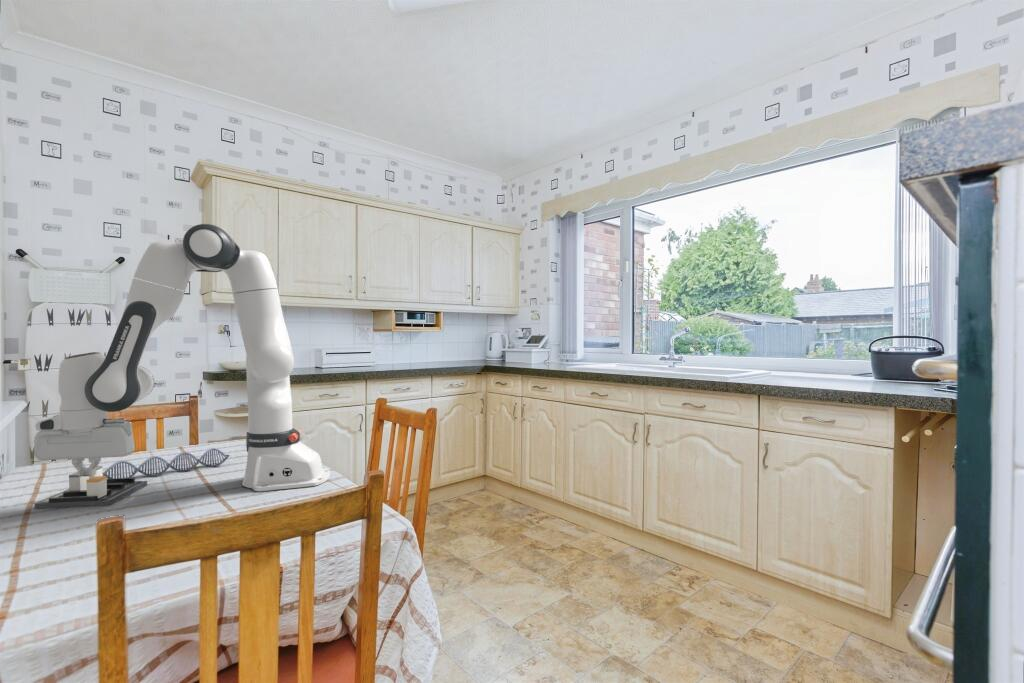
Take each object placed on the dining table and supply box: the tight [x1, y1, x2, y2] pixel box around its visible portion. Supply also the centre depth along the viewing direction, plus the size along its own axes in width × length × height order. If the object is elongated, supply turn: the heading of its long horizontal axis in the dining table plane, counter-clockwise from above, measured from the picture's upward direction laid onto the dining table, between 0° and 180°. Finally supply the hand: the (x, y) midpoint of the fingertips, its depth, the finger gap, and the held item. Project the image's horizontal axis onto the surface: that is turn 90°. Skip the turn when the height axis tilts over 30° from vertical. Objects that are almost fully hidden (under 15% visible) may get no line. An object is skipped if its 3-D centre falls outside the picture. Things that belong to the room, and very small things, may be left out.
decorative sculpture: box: [103, 447, 231, 479], centre depth 142 cm, size 6×31×6 cm, turn 131°
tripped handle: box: [86, 476, 108, 499], centre depth 119 cm, size 2×3×5 cm
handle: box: [89, 465, 104, 479], centre depth 128 cm, size 2×3×5 cm
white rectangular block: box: [68, 471, 89, 491], centre depth 123 cm, size 2×3×5 cm
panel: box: [34, 477, 148, 509], centre depth 123 cm, size 16×15×2 cm
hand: (87, 475), depth 119 cm, fingers closed
